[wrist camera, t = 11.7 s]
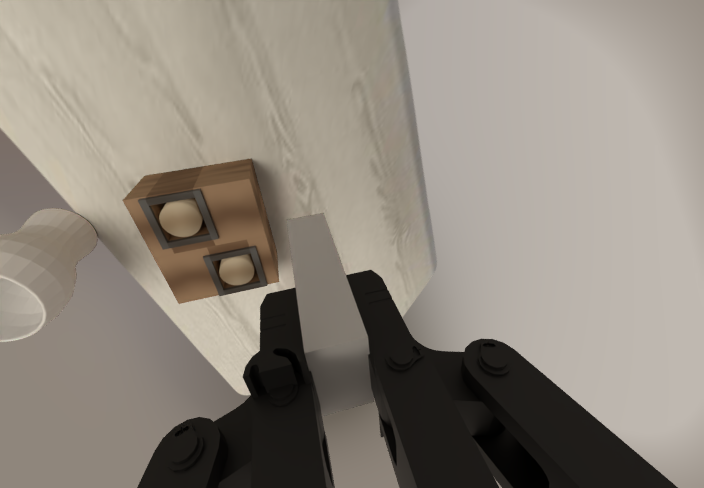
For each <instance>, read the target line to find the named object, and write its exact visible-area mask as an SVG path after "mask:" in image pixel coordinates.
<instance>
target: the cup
mask: <svg viewBox="0 0 704 488" xmlns="http://www.w3.org/2000/svg"><path fill="white" fill-rule="evenodd" d="M97 240H98V239H97V233H96V231H95V230H94V228H93V226H92V225H91V224H90V223H89V222H88V221H87V220H86V219H84V218H83V217H81V216H80V215H78V214H76V213H73V212H71V211H68V210H64V209H56V208H49V209H43V210H40V211H37V212H35V213H34V214H33V215H32V216H31V217H29V219H28V220H27V221H26V222H25V223H24V224H23V226H22V228H21V229H20V230H18V231H16V232H14V233H10V234H1V235H0V342H8V341H14V340H20V339H23V338H25V337H28V336H31V335H33V334H34V333H36V332H37V331H38V330H40V329H41V328H43V327H44V326H45V325H46V324H48V323H49V322H50V321H52V320H53V319H54V318H56V317H57V316H58V315H59V314H60V312H61V311H62V310H63V309H64V307H65V306H66V305H67V303H68V302H69V300H70V299H71V297H72V296H73V292H74V287H75V282H76V276H77V274H76V268H75V267H76V265H77V263H78V261H79V260H81V259H82V258H84V257H85V256H86V255H88V254H89V253H90V252H91V251H92V250H93V249H94V248H95V246H96V245H97Z"/></svg>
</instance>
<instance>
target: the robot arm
mask: <svg viewBox="0 0 704 488" xmlns="http://www.w3.org/2000/svg"><path fill="white" fill-rule="evenodd" d="M286 221H287V228H288V236H289V243H290V250H291V258H292V265H293V273H294V280H295V287H296V288H292V289H287V290H283V291H278V292H274V293H269V294H267V295H266V297H265V299H264V301H263V302H262V304H261V306H260V320H261V322H260V331H261V333H260V351H259V352H258V353H257V354H255V355H254V356H253V357H252V358H251V360H250V361H249V362H248V364H247V365H246V367H245V371H244V374H243V379H244V381H245V383H246V385H247V387H248V389H249V391H250V393H251V396H250V397H249V398H248V399H247V400H246V401H245V402H244V403H243V404H241V405H240V406H239V407H237V408H236V409H234V410H233V411H231V412H229V413H228V414H226V415H224V416H223V417H221V418H219V419H218V420H216V421H214V422H213V421H212V420H211V419H207V418H202V417H198V418H194V419H189V420H186V421H185V422H183V423H181V424H179V425H178V426H176V427H174V428H173V429H172V430H171V431H170V432H169V433H168V434H167V435H166V436H165V437H164V438H163V439H162V441H161V442H160V444H159V445H158V447H157V448H156V450H155V452H154V454H153V456H152V458H151V460H150V462H149V464H148V466H147V468H146V470H145V473H144V475H143V477H142V479H141V481H140V483H139V485H138V487H137V488H335V486H334V480H333V474H332V468H331V462H330V456H329V451H328V444H327V439H326V435H325V431H324V426H323V421H322V416H326V415H329V414H333V413H336V412H339V411H343V410H347V409H350V408H354V407H357V406H361V405H364V404H368V403H371V402H374V398H375V401H376V405H377V408H378V411H379V421H380V433H381V437H384V438H385V441H386V445H387V448H388V451H389V454H390V458H391V461H392V464H393V468H394V471H395V474H396V477H397V481H398V484H399V487H400V488H499V486H498V485H497V483H496V481H495V479H496V480H497V481H498V483H499V484H500V485H501V487H502V488H678V487H676V486H675V485H674V484H673V483H672V482H671V481H669V480H668V479H667V478H666V477H665V476H663V475H662V474H661V473H660V472H659V471H657V470H656V469H655V468H654V467H653V466H652V465H650V464H649V463H648V462H647V461H646V460H644V459H643V458H642V457H641V456H640V455H639V454H637V453H636V452H635V451H634V450H632V449H631V448H630V447H629V446H628V445H627V444H625V443H624V442H623V441H622V440H621V439H620V438H618V437H617V436H616V435H615V434H614V433H612V432H611V431H610V430H609V429H608V428H606V427H605V426H604V425H603V424H602V423H601V422H599V421H598V420H597V419H596V418H595V417H593V416H592V415H591V414H590V413H589V412H588V411H586V410H585V409H584V408H583V407H582V406H580V405H579V404H578V403H577V402H576V401H574V400H573V399H572V398H571V397H570V396H569V395H567V394H566V393H565V392H564V391H563V390H561V389H560V388H559V387H558V386H557V385H556V384H554V383H553V382H552V381H551V380H550V379H549V378H547V377H546V376H545V375H544V374H543V373H541V372H540V371H539V370H538V369H537V368H535V367H534V366H533V365H532V364H531V363H529V362H528V361H527V360H526V359H525V358H524V357H522V356H521V355H520V354H519V353H518V352H517V351H515V350H514V349H513V348H511V347H510V346H508V345H506V344H505V343H503V342H500V341H497V340H493V339H479V340H476V341H473V342H471V343H470V344H469V345H468V346H467V347H466V348H465V352H445V351H436V350H432V349H429V348H426V347H424V346H423V345H421V344H420V343H418V342H417V341H416V340H415V339H414V338H413V337H412V335H411V334H410V332H409V330H408V328H407V326H406V324H405V323H404V321H403V319H402V317H401V315H400V313H399V311H398V309H397V307H396V305H395V303H394V301H393V300H392V297H391V295H390V293H389V291H388V290H387V287H386V285H385V283H384V281H383V279H382V278H381V277H380V276H379V275H378V274H376V273H375V272H374V271H372V270H368V271H363V272H359V273H354V274H350V275H346V274H345V271H344V269H343V266H342V263H341V260H340V258H339V255H338V252H337V249H336V246H335V244H334V241H333V238H332V235H331V233H330V230H329V227H328V224H327V221H326V219H325V216H324V213H320V214H315V215H310V216H304V217H299V218H294V219H289V220H286ZM493 476H494V477H493ZM494 478H495V479H494Z"/></svg>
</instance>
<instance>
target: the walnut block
mask: <svg viewBox="0 0 704 488" xmlns="http://www.w3.org/2000/svg"><path fill="white" fill-rule="evenodd" d="M190 198H195V199H196V201H197V204H198V206H199V209H200V211H201V214H202V216H203V221H202V224H201V227H200V229H199V231H198V232H197V233H195V234H194V235H192V236H189V237H178V236H174V235H172V234H170V233H168V232H167V231H166V230H165V229H164V228H163V227H162V226H161V224H160V220H159V216H160V213H161V211H162V209H163V207H164V206H165V204H166V203H167V202H173V201H179V200H185V199H190ZM123 202H124V204H125V205H126V207H127V209H128V211H129V213H130V215H131V217H132V218H133V220H134V222H135V224H136V226H137V228H138V229H139V231H140V233H141V235H142V237H143V239H144V240H145V242H146V244H147V246H148V248H149V250H150V252H151V253H152V255H153V257H154V259H155V261H156V263H157V264H158V266H159V268H160V270H161V272H162V274H163V275H164V277H165V279H166V281H167V283H168V285H169V287H170V288H171V290H172V292H173V294H174V296H175V298H176V299H177V301H178V303H179V304H180V303H185V302H189V301H194V300H198V299H203V298H207V297H212V296H216V295H219V296H223V295H227V294H232V293H236V292H241V291H245V290H250V289H254V288H259V287H263V286H267V284H271V283H276V282H279V275H278V261H277V251H276V247H275V243H274V240H273V236H272V232H271V229H270V225H269V221H268V218H267V214H266V210H265V207H264V203H263V199H262V196H261V192H260V188H259V185H258V181H257V177H256V174H255V170H254V166H253V163H252V159H246V160H240V161H233V162H227V163H221V164H215V165H209V166H203V167H196V168H190V169H184V170H178V171H172V172H165V173H159V174H153V175H147V176H144V177H143V178H142V179H141V180H140V182H139V183H138V184H137V185H136V186H135V187H134V188H133V189H132V191H131V192H130V193H129V194H128V195H127V196H126V197H125V198H124V200H123ZM246 254H251V256H252V259H253V262H254V276H253V278H252V279H251V280H250V281H249V282H248V283H246V284H243V285H231V284H228V283H226V282H225V281H223V280H222V278H221V277H220V274H219V270H220V264H221V260H222V259H227V258H231V257H236V256H241V255H246Z"/></svg>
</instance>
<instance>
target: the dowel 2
mask: <svg viewBox="0 0 704 488" xmlns="http://www.w3.org/2000/svg"><path fill="white" fill-rule="evenodd" d="M219 274H220V277H221V278H222V280H223V281H225V282H226V283H228V284H231V285H243V284H246V283H248V282H249V281H250V280H251V279H252V278H253V276H254V262H253V259H252V256H251V254H246V255H241V256H236V257H231V258H227V259H222V260H221V264H220V270H219Z"/></svg>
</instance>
